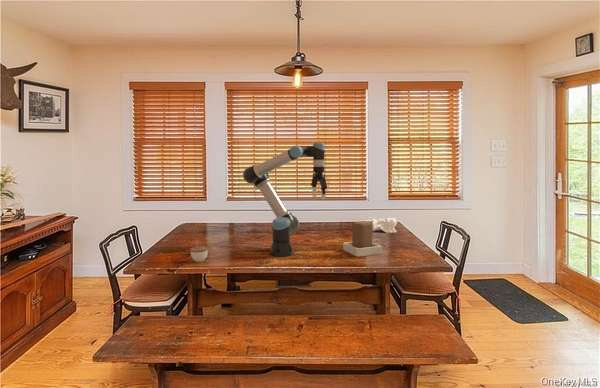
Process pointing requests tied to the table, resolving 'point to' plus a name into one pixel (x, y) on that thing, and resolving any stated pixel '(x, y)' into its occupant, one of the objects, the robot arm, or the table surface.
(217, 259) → the table surface
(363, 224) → the wooden block
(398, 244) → the table surface
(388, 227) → the cherub figurine
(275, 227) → the robot arm
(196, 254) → the white round bowl
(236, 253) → the table surface
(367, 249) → the box
